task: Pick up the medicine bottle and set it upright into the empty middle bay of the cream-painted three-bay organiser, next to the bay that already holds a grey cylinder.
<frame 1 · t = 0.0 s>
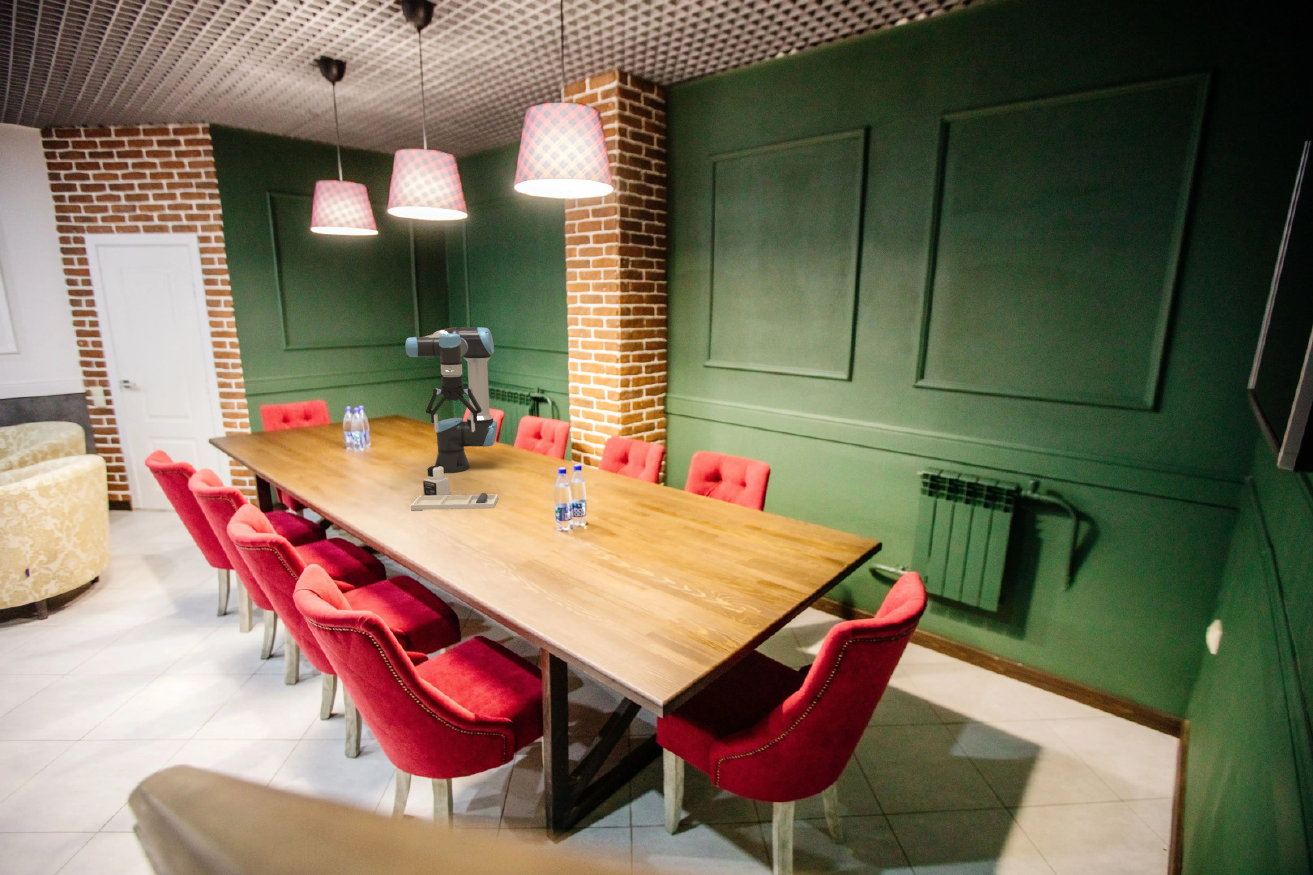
hand: (455, 431, 241), 28 cm above the table, fingers open, 13 cm apart
medicine bottle: (437, 496, 254), on the table
organiser: (456, 505, 243), on the table
grey cylinder: (482, 503, 243), resting on organiser
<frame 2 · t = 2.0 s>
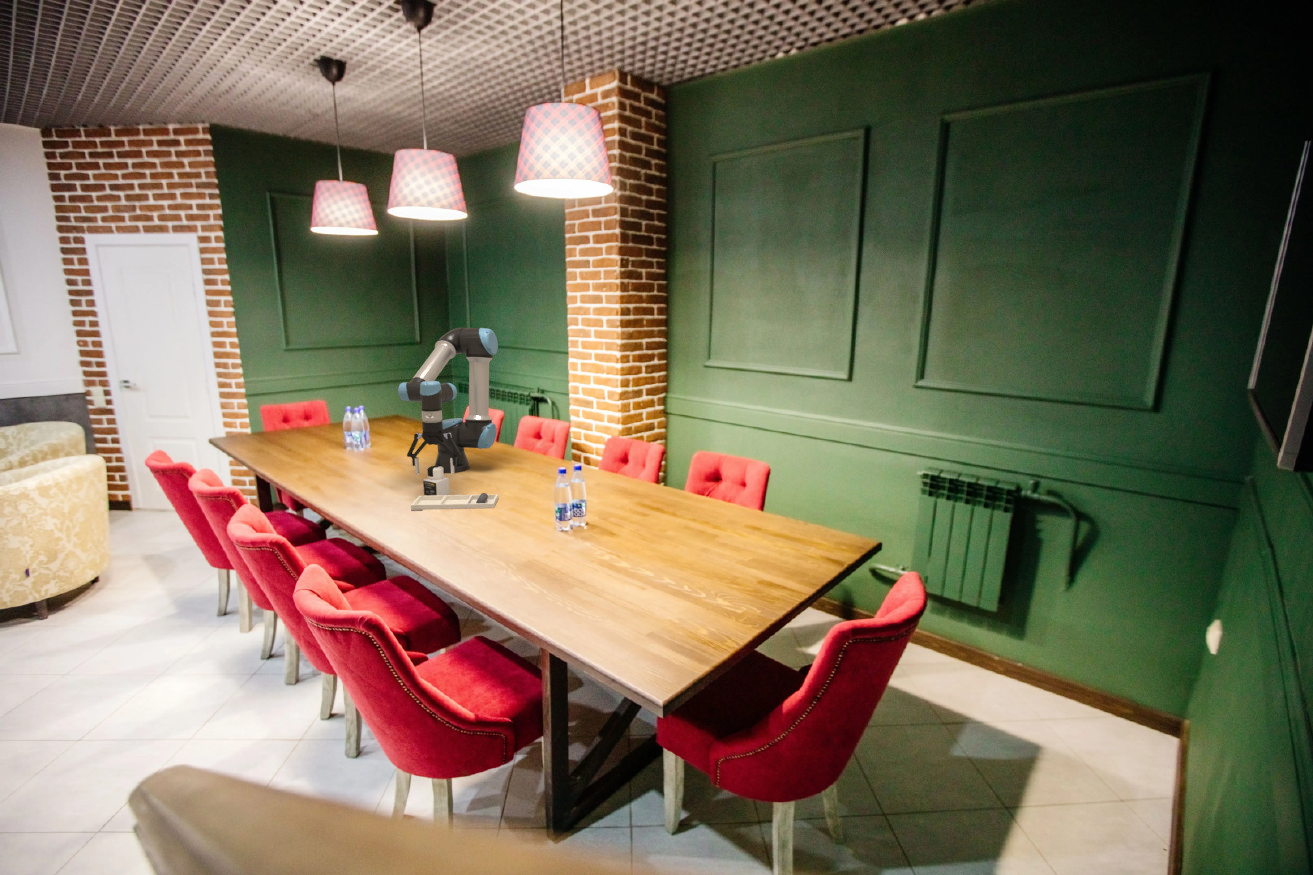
hand: (435, 473, 251), 9 cm above the table, fingers open, 13 cm apart
nothing on the table moved.
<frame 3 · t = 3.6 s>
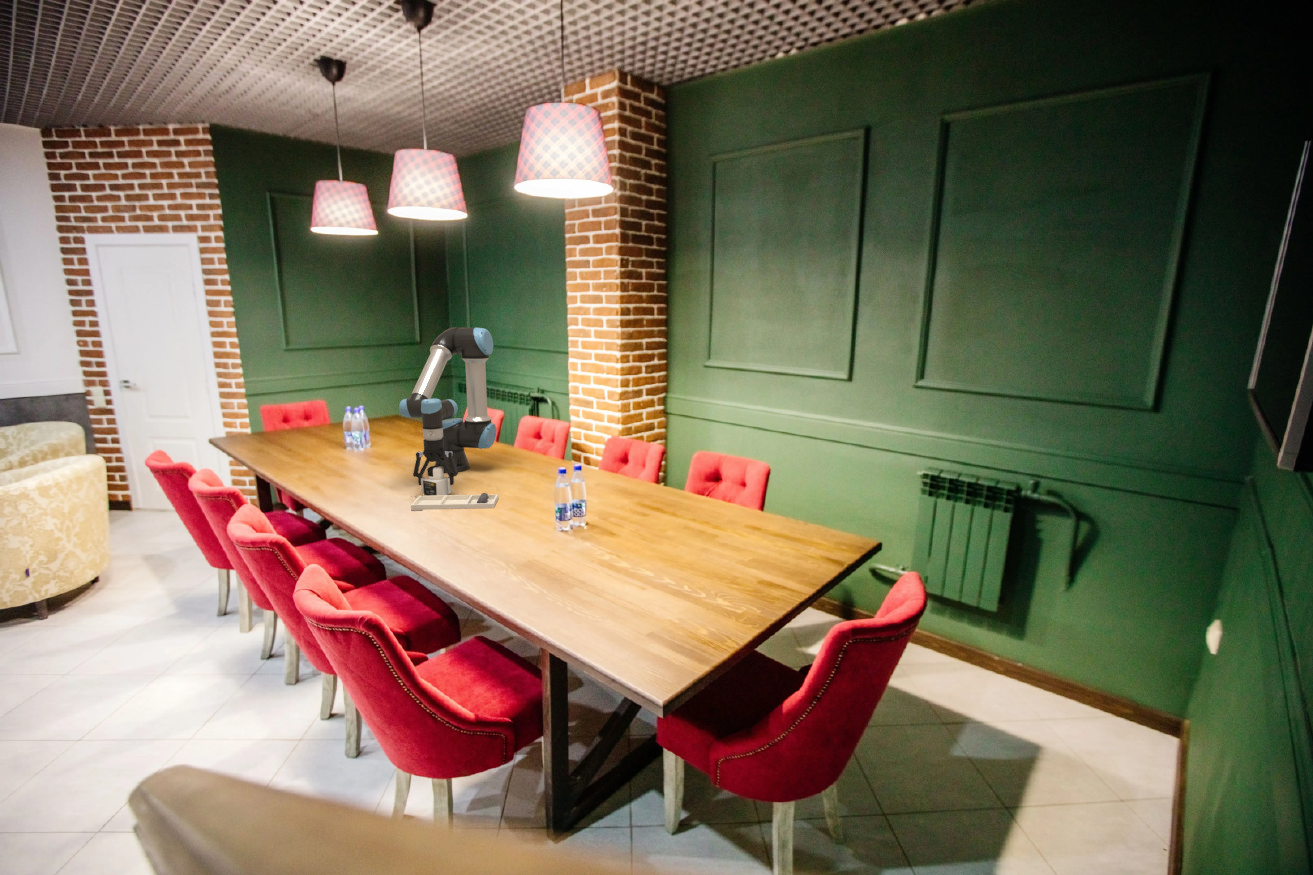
hand: (437, 492, 253), 1 cm above the table, fingers closed on medicine bottle, 10 cm apart
medicine bottle: (437, 496, 254), on the table, touching gripper
grey cylinder: (482, 503, 243), point 1 cm above the table, tilted 12°, touching organiser
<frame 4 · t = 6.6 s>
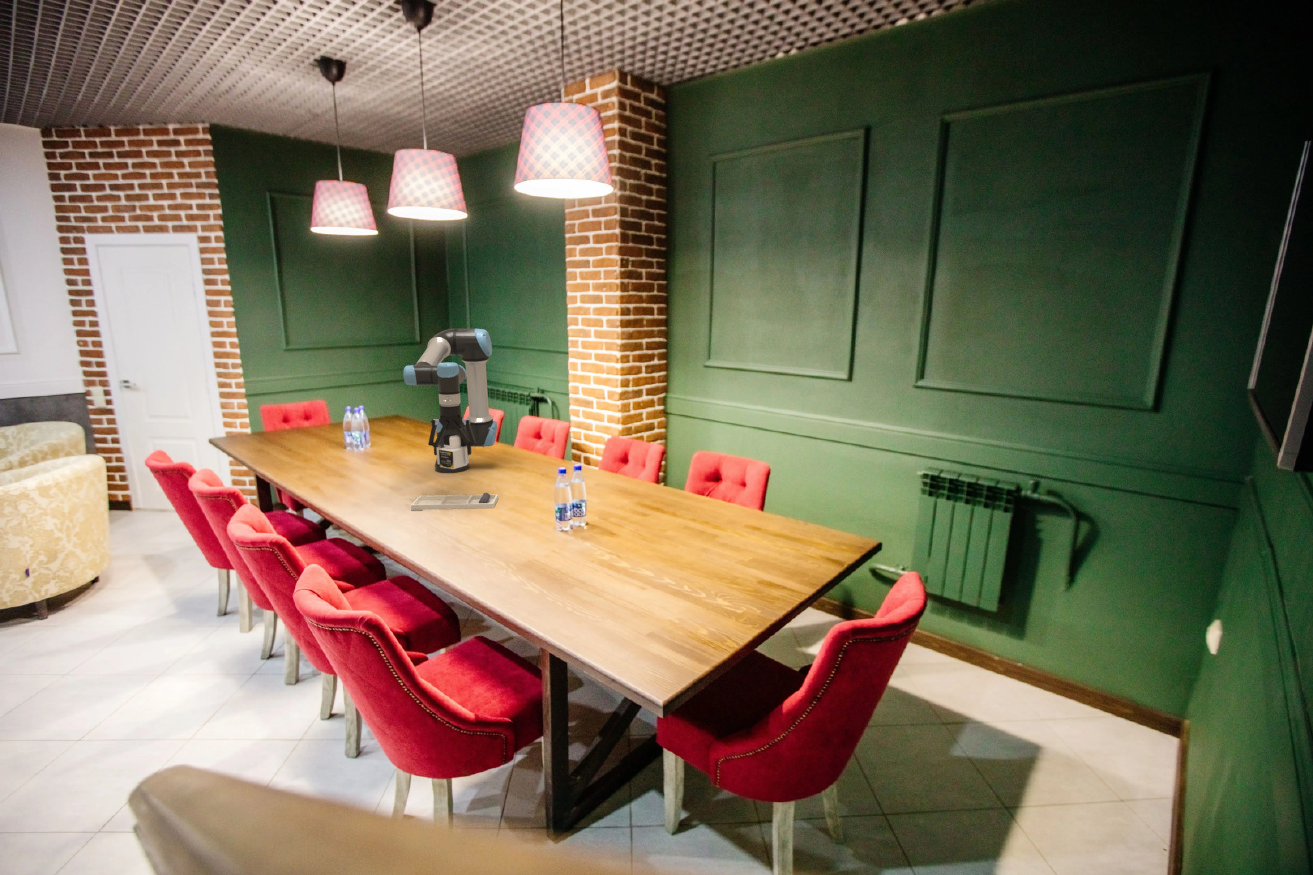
hand: (453, 463, 239), 17 cm above the table, fingers closed on medicine bottle, 10 cm apart
medicine bottle: (453, 466, 239), point 15 cm above the table, touching gripper
grey cylinder: (482, 502, 243), point 1 cm above the table, tilted 39°, touching organiser
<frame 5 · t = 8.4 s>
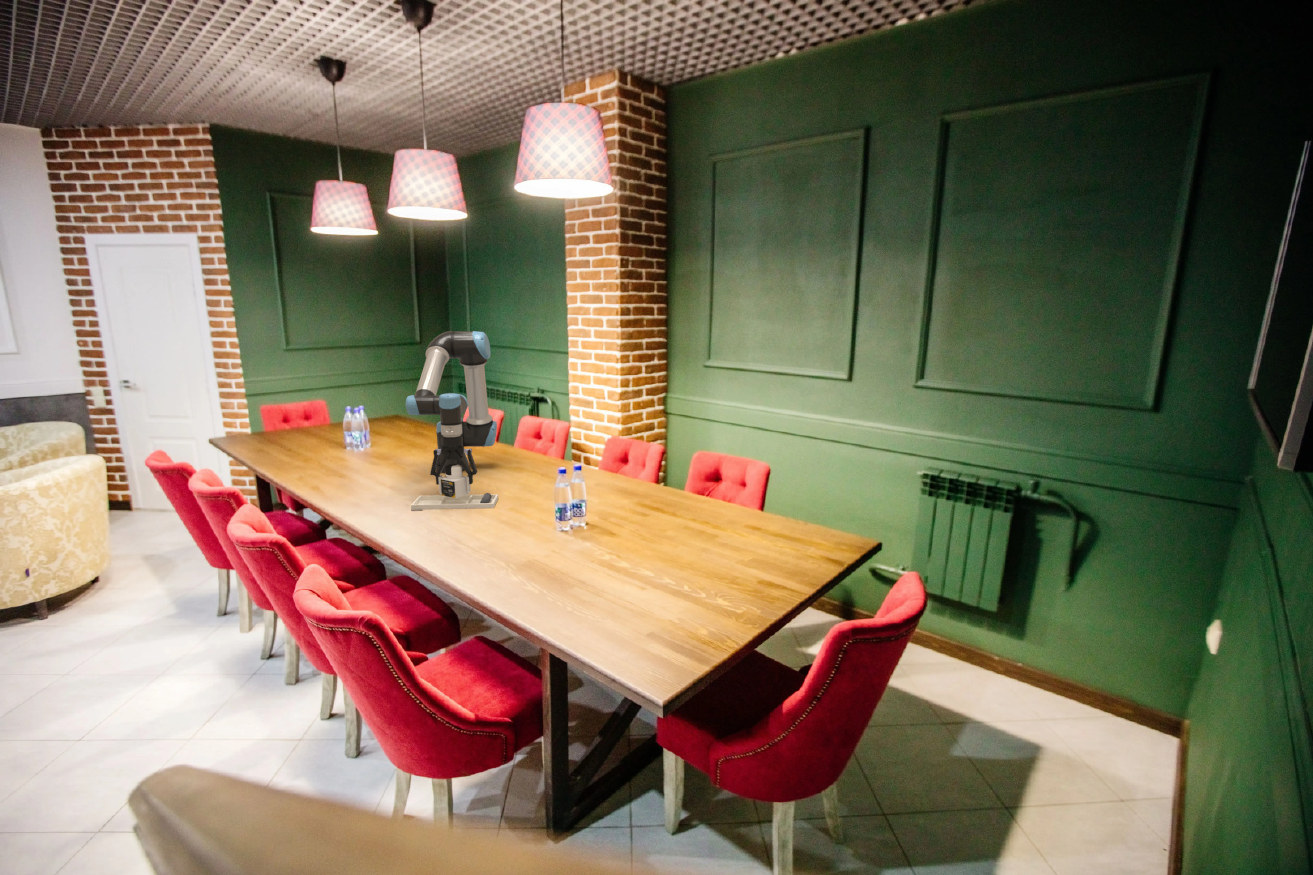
hand: (455, 492, 241), 5 cm above the table, fingers closed on medicine bottle, 10 cm apart
medicine bottle: (455, 495, 242), point 4 cm above the table, touching gripper
grey cylinder: (482, 501, 243), point 1 cm above the table, tilted 60°, touching organiser
when the fingers open (4 cm above the table, at t = 9.7 s): medicine bottle stays where it is, resting on organiser.
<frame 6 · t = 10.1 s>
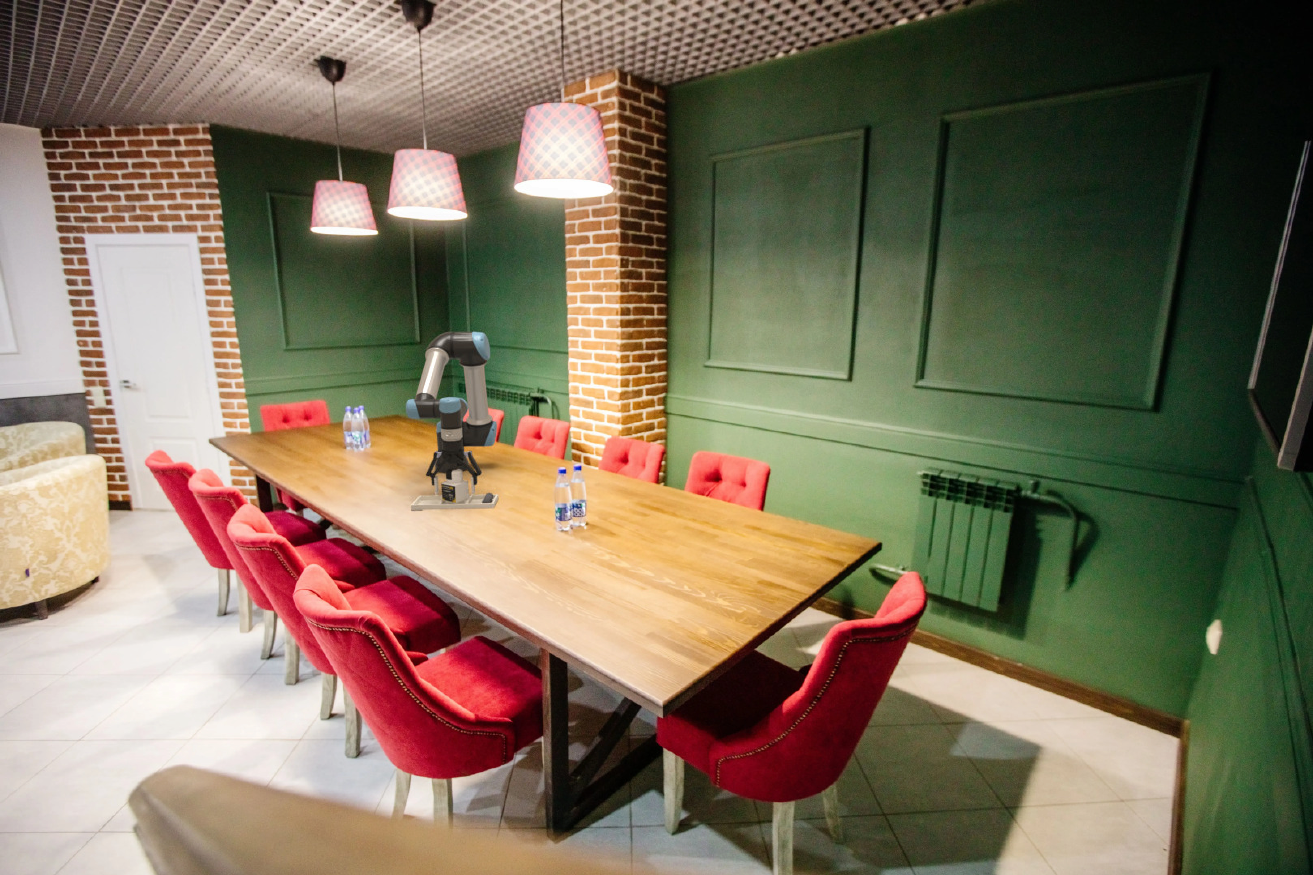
hand: (455, 493, 242), 5 cm above the table, fingers open, 13 cm apart
medicine bottle: (455, 500, 242), point 2 cm above the table, touching organiser
grey cylinder: (483, 500, 243), point 2 cm above the table, tilted 84°, touching organiser
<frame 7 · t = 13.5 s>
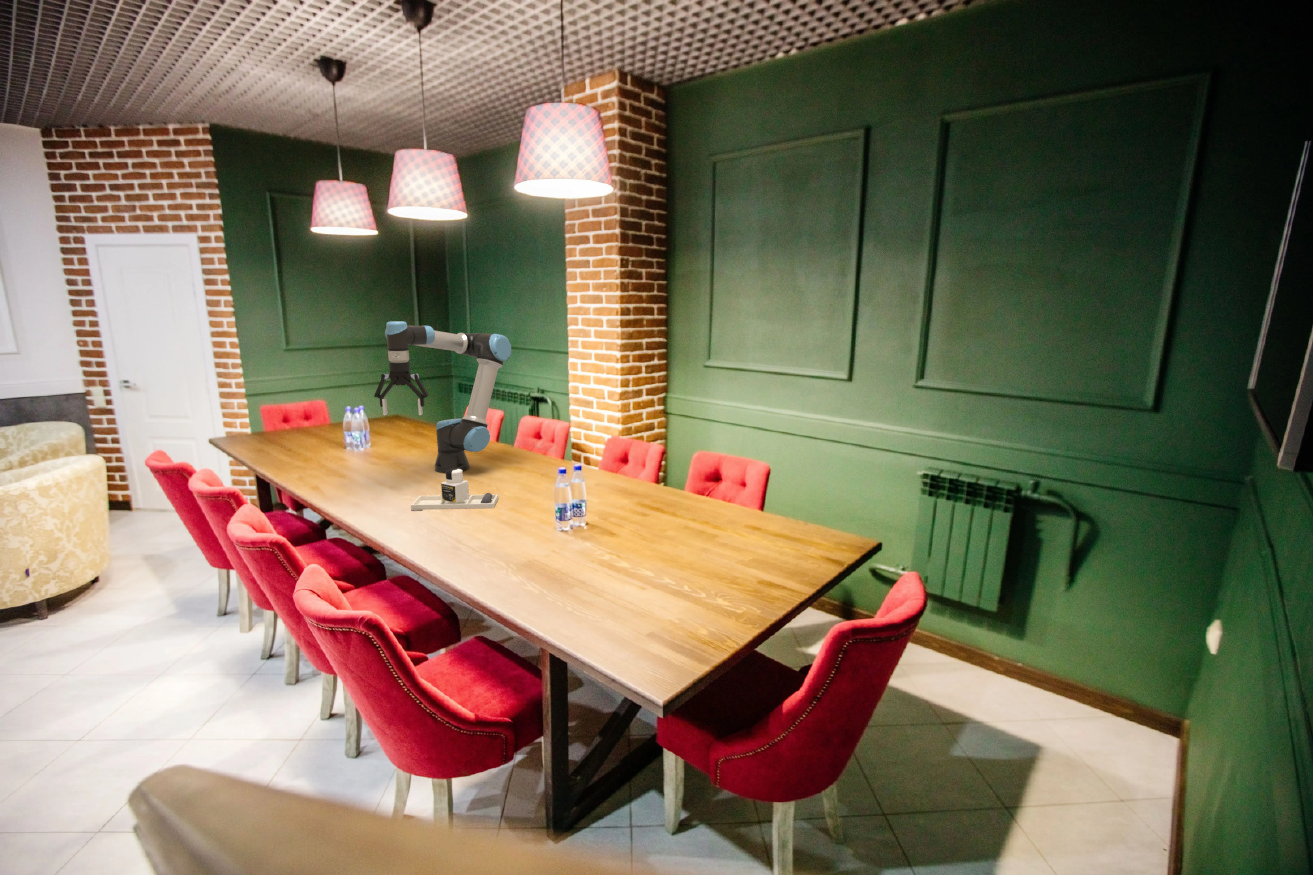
hand: (403, 414, 252), 32 cm above the table, fingers open, 13 cm apart
grey cylinder: (482, 501, 243), point 1 cm above the table, tilted 69°, touching organiser
everything else where it was.
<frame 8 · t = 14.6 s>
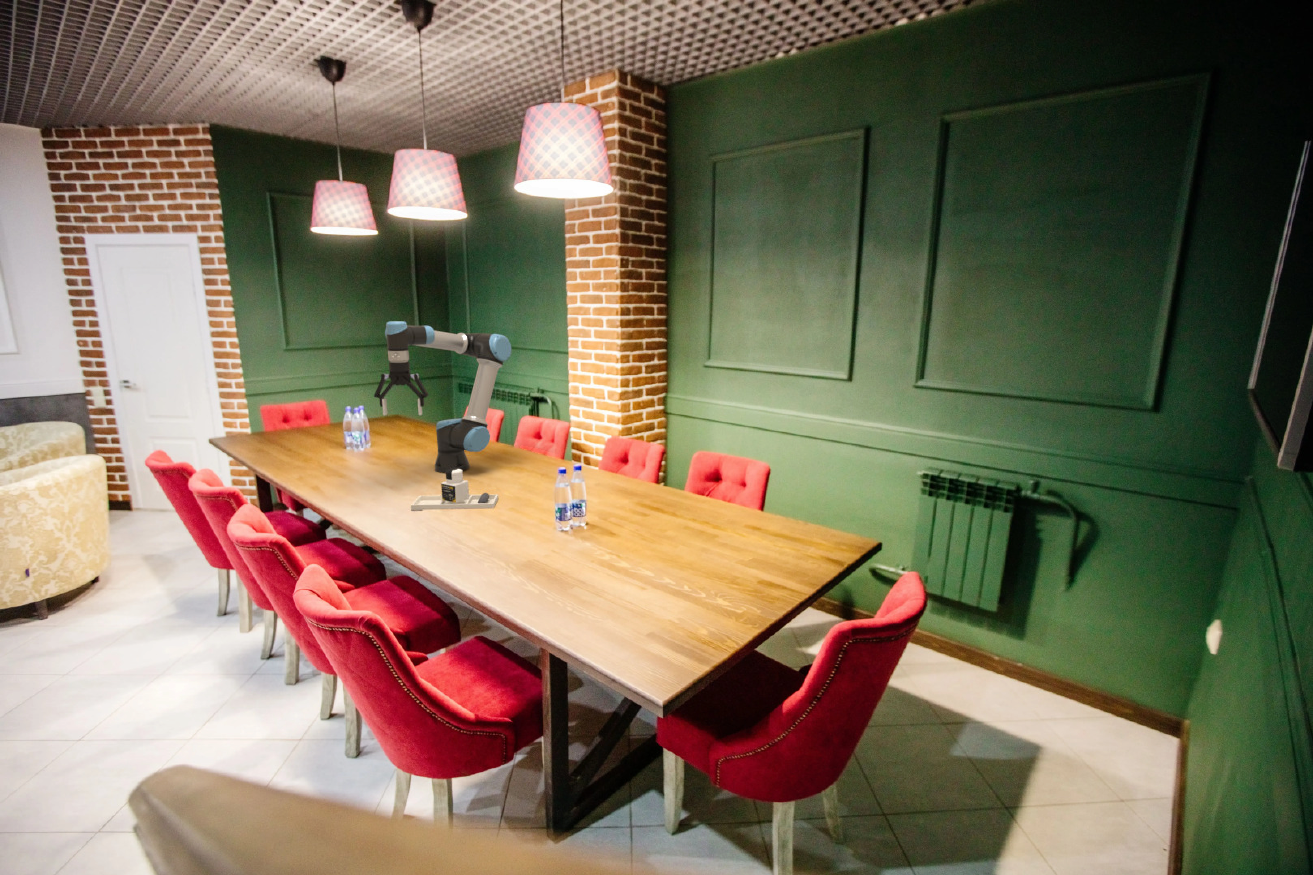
hand: (403, 414, 253), 32 cm above the table, fingers open, 13 cm apart
grey cylinder: (482, 503, 243), point 1 cm above the table, tilted 26°, touching organiser
everything else where it was.
at the end: medicine bottle inside the target area on the organiser (0.0 cm from its centre), point 2.0 cm above the organiser's base; medicine bottle tilted 0°; grey cylinder moved 0.0 cm from its start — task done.
